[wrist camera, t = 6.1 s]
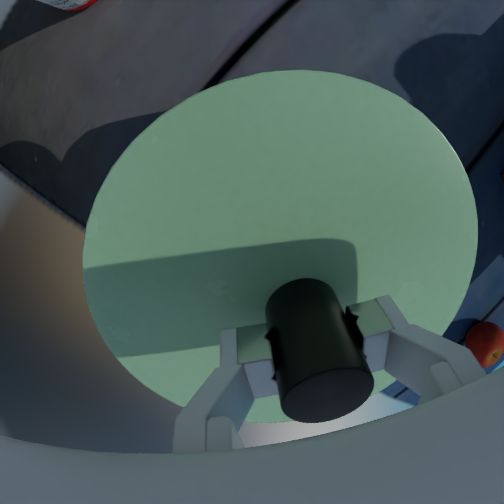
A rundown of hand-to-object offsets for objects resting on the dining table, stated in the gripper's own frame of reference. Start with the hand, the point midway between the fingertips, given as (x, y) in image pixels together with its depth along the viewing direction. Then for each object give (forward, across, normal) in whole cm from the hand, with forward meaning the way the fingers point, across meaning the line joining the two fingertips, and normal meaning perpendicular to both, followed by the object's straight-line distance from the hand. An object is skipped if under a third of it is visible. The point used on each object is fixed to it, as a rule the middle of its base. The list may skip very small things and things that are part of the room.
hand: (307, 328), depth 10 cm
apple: (+23, -34, +34) cm, 53 cm away
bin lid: (+2, 0, 0) cm, 2 cm away
